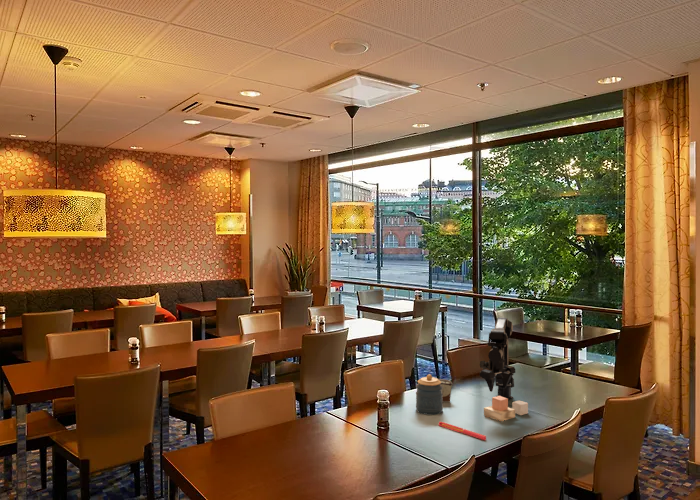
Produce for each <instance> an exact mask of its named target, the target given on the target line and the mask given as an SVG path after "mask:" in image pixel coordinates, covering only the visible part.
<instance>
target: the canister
mask: <svg viewBox="0 0 700 500" xmlns="http://www.w3.org/2000/svg"><path fill="white" fill-rule="evenodd" d="M438 379H439V378H437V377H434V376H432V374H430V373H429V374H427V375H426V376H423V377H421V378H420V379H418V380H417V384H416V385H415V388H416V391H415V396H416V397H415V402H416V403H415V409H416V410H415V411H416V412H418V413H419V414H422V415H429V416H430V415H431V416H432V415H433V416H434V415H439V414H441V413H442V412H443V410H444V405H443V403H444V402H443V393H442V389H443V386H442V385H441V381H440V380H438Z"/></svg>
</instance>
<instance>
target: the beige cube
mask: <svg viewBox="0 0 700 500" xmlns="http://www.w3.org/2000/svg"><path fill="white" fill-rule="evenodd" d="M511 405H512V406H511V408H512V409H515V415H519V416H523V415H526V414H529V403H528V402H526V401H522V400H520V399H519V400H515V401H513V402H512V403H511Z"/></svg>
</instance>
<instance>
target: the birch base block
mask: <svg viewBox="0 0 700 500" xmlns="http://www.w3.org/2000/svg"><path fill="white" fill-rule="evenodd" d="M484 415H485V416H484ZM483 416H484V417H486V418H489V417H491V418H490V419H492V418H493V420H495V419H496V420H495V421H498V420H499V422H501V421H502V422H505V421H508V420H510V419H514V418H516V413H515V409H512V407H509V406H508V409H507V410H503V411H499V410H496V409H493V408H492V405H489V406H485V407H483ZM504 420H505V421H504Z"/></svg>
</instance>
